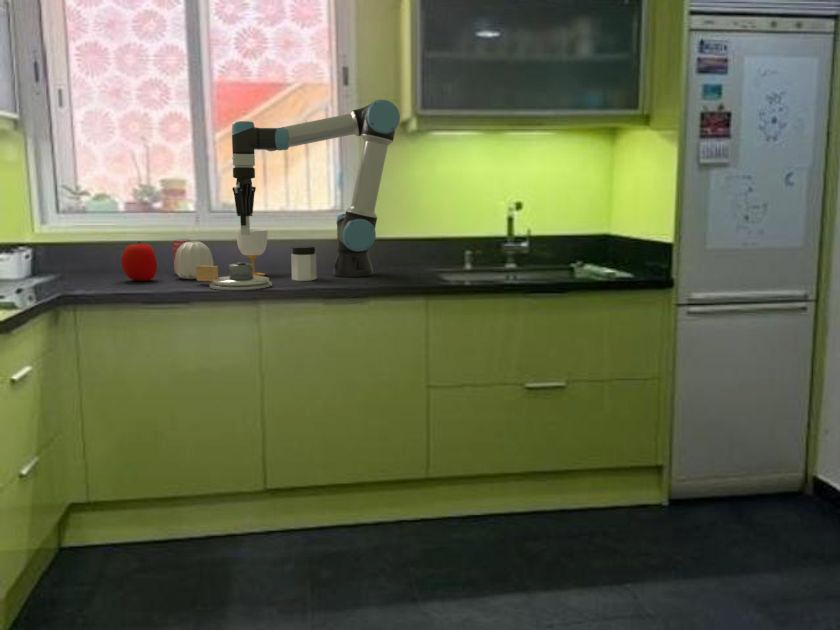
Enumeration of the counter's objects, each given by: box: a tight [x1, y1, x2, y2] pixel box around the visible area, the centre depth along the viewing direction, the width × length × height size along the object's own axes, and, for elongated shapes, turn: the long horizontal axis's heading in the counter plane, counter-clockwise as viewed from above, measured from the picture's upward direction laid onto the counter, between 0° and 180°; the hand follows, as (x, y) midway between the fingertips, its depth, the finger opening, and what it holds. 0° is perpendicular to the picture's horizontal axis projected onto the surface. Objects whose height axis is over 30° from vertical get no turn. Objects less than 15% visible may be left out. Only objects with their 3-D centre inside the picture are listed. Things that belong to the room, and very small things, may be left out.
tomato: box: [120, 241, 158, 282], centre depth 294 cm, size 13×11×14 cm
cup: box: [235, 228, 268, 277], centre depth 311 cm, size 12×12×17 cm
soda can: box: [172, 238, 192, 275], centre depth 315 cm, size 7×7×13 cm
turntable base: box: [209, 280, 273, 292], centre depth 282 cm, size 21×21×1 cm
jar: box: [290, 245, 317, 282], centre depth 299 cm, size 9×8×12 cm
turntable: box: [196, 265, 270, 286], centre depth 283 cm, size 26×19×5 cm
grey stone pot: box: [228, 261, 253, 281], centre depth 282 cm, size 8×8×6 cm
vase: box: [173, 240, 215, 280], centre depth 302 cm, size 14×14×13 cm
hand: (245, 234), depth 290 cm, fingers closed
